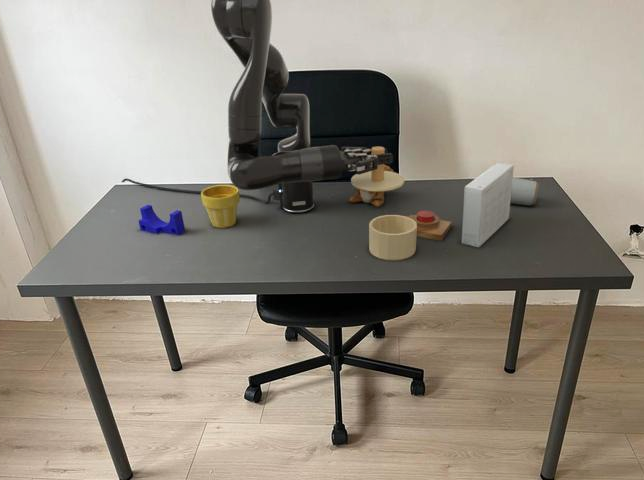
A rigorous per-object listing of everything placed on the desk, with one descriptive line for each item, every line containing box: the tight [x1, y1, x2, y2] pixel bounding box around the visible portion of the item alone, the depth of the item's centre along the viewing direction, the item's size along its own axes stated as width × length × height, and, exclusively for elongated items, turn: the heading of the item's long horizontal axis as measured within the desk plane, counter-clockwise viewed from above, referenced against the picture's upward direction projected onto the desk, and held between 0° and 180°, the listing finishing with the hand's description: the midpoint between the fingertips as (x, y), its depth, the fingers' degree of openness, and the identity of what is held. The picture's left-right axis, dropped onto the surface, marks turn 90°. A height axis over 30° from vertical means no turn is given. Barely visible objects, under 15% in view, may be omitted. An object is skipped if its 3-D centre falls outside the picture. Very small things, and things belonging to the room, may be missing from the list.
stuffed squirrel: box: [348, 164, 394, 208], centre depth 165 cm, size 10×14×13 cm
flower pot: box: [200, 184, 240, 229], centre depth 153 cm, size 10×10×10 cm
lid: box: [350, 146, 405, 192], centre depth 127 cm, size 13×13×9 cm
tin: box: [368, 214, 418, 261], centre depth 138 cm, size 12×12×7 cm
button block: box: [408, 213, 452, 242], centre depth 148 cm, size 12×9×4 cm
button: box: [417, 210, 435, 223], centre depth 147 cm, size 4×4×2 cm
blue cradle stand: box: [138, 204, 186, 236], centre depth 151 cm, size 12×4×6 cm, turn 65°
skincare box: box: [461, 162, 515, 248], centre depth 143 cm, size 21×5×16 cm, turn 145°
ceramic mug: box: [510, 176, 540, 206], centre depth 162 cm, size 11×8×8 cm
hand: (389, 155), depth 127 cm, fingers closed on lid, 3 cm apart
